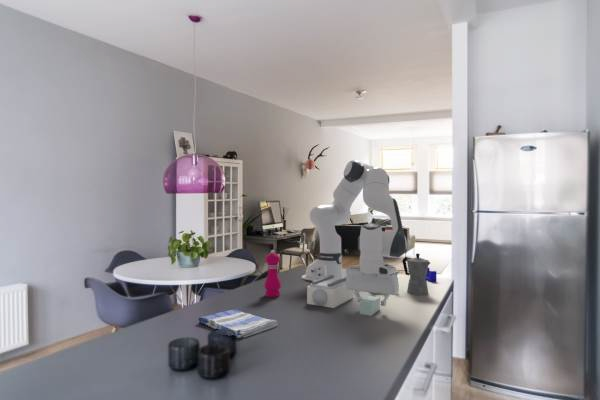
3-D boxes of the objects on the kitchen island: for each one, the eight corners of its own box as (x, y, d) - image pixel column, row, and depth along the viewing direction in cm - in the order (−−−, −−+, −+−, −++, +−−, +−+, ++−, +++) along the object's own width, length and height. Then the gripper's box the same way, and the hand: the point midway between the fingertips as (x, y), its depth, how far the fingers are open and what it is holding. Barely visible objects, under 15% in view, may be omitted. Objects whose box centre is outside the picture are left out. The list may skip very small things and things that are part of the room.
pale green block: (359, 314, 150) (359, 301, 150) (370, 307, 160) (370, 294, 160) (371, 316, 148) (371, 302, 148) (381, 309, 157) (381, 296, 157)
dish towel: (239, 340, 124) (239, 331, 124) (196, 324, 140) (196, 315, 140) (280, 327, 137) (280, 318, 137) (236, 313, 153) (236, 305, 153)
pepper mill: (282, 293, 182) (282, 248, 181) (279, 297, 174) (279, 251, 174) (266, 293, 182) (266, 248, 182) (263, 297, 175) (263, 250, 175)
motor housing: (306, 304, 164) (306, 281, 164) (331, 293, 182) (331, 273, 182) (332, 308, 157) (332, 285, 157) (355, 296, 176) (355, 276, 176)
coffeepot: (436, 295, 179) (436, 254, 179) (422, 298, 174) (422, 256, 174) (409, 288, 192) (409, 250, 192) (395, 291, 187) (395, 252, 186)
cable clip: (420, 278, 216) (420, 267, 216) (428, 278, 216) (428, 267, 216) (427, 283, 204) (427, 271, 204) (436, 283, 204) (436, 271, 204)
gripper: (342, 265, 156) (342, 302, 156) (394, 270, 145) (394, 309, 145) (349, 263, 161) (349, 298, 161) (400, 268, 150) (400, 305, 150)
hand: (371, 303), depth 153 cm, fingers open, 8 cm apart
